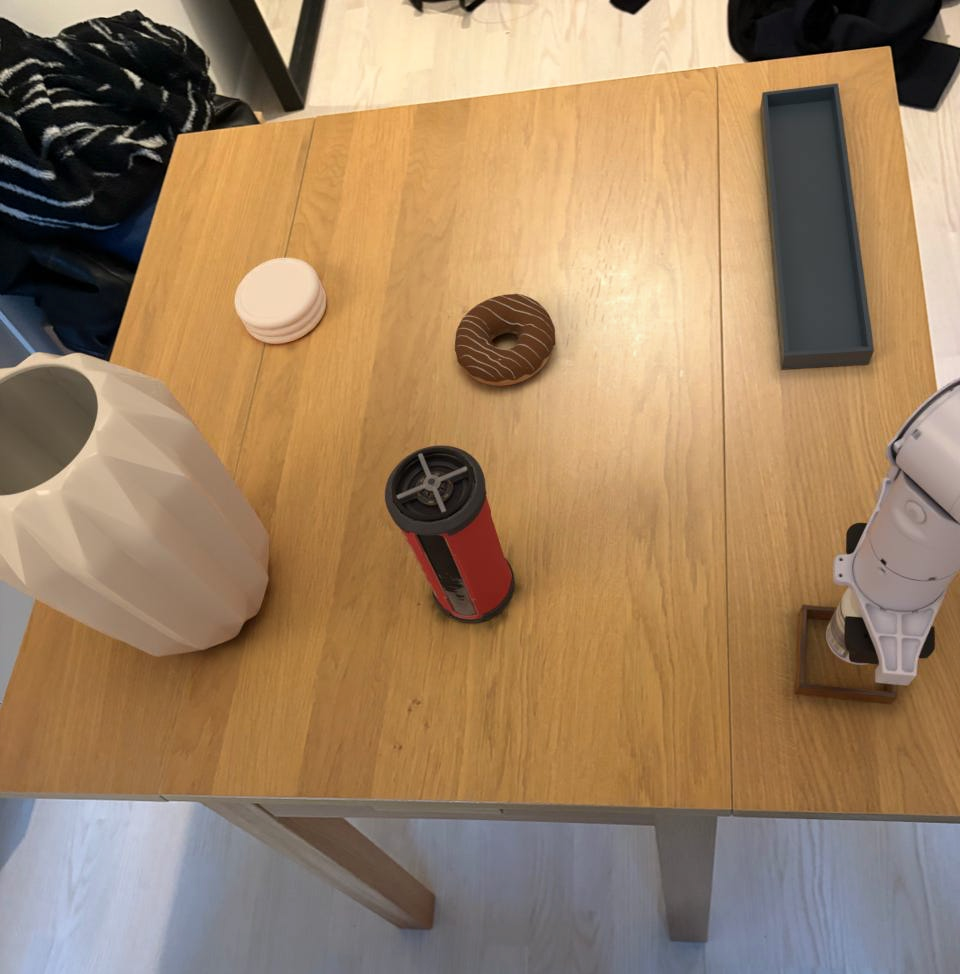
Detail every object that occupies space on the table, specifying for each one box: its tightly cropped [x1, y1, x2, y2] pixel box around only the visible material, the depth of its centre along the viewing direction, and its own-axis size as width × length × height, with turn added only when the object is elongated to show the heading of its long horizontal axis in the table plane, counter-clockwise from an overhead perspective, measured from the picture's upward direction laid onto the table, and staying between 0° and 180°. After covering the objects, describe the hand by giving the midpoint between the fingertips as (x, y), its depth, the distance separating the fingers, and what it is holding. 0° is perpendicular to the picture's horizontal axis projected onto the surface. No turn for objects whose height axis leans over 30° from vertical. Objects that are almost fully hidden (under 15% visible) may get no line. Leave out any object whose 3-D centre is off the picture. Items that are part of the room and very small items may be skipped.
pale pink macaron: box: [233, 257, 327, 345], centre depth 93 cm, size 10×10×4 cm
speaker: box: [384, 444, 516, 623], centre depth 69 cm, size 8×8×18 cm
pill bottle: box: [825, 587, 869, 666], centre depth 61 cm, size 5×5×8 cm
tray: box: [759, 82, 875, 370], centre depth 85 cm, size 37×8×2 cm, turn 176°
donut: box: [454, 293, 557, 387], centre depth 85 cm, size 11×11×4 cm
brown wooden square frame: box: [794, 604, 899, 705], centre depth 68 cm, size 7×7×2 cm
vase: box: [0, 351, 270, 658], centre depth 69 cm, size 20×20×27 cm
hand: (864, 625), depth 62 cm, fingers closed on pill bottle, 5 cm apart
